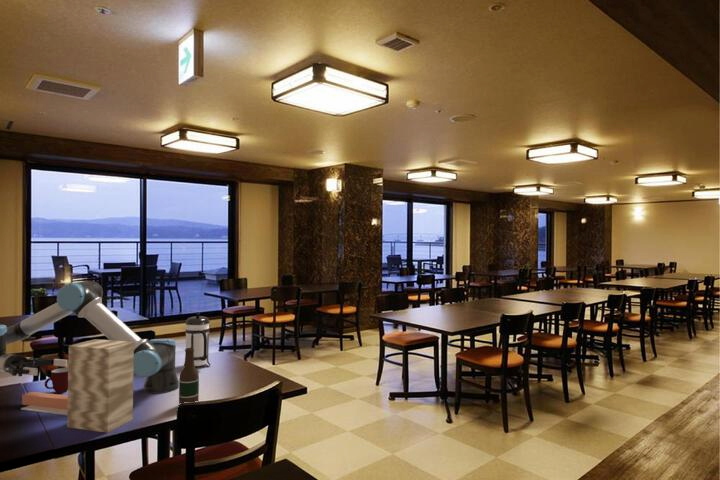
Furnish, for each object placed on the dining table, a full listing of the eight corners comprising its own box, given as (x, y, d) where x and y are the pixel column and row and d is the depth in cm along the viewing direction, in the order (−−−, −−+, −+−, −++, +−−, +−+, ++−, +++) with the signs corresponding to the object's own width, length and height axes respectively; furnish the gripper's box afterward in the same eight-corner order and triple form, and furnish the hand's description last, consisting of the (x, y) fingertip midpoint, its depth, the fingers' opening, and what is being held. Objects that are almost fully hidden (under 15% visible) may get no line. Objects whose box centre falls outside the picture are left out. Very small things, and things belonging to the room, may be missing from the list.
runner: (105, 406, 184) (105, 405, 184) (81, 417, 173) (81, 416, 173) (48, 399, 191) (48, 398, 191) (20, 409, 180) (20, 408, 180)
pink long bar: (90, 407, 182) (90, 397, 182) (82, 411, 178) (82, 401, 178) (31, 401, 188) (31, 391, 188) (22, 404, 184) (22, 394, 184)
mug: (49, 398, 193) (49, 375, 193) (41, 394, 198) (41, 372, 198) (75, 391, 202) (75, 369, 202) (67, 388, 207) (67, 366, 207)
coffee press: (175, 369, 238) (176, 314, 239) (191, 362, 254) (192, 309, 255) (205, 371, 236) (206, 315, 236) (219, 363, 251) (220, 311, 252)
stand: (132, 419, 170) (133, 342, 171) (107, 432, 159) (109, 349, 159) (94, 415, 175) (95, 339, 175) (67, 427, 163) (68, 345, 163)
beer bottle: (186, 410, 181) (187, 351, 181) (174, 406, 185) (175, 348, 185) (202, 404, 188) (203, 347, 188) (190, 400, 192) (191, 345, 192)
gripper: (39, 364, 201) (77, 368, 196) (-19, 381, 177) (22, 385, 172) (39, 348, 201) (78, 351, 196) (-19, 362, 177) (23, 366, 172)
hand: (52, 367), depth 184 cm, fingers open, 13 cm apart
